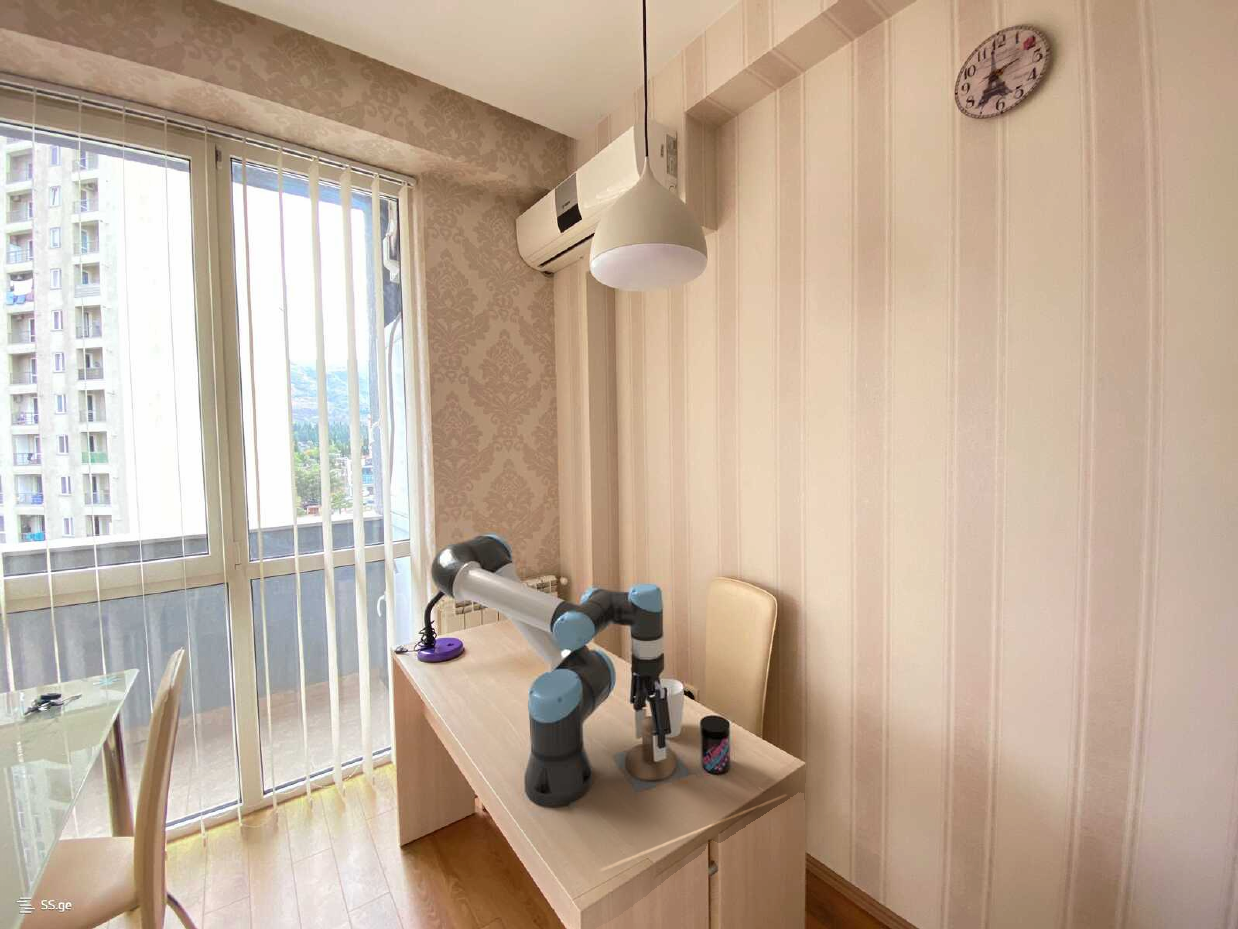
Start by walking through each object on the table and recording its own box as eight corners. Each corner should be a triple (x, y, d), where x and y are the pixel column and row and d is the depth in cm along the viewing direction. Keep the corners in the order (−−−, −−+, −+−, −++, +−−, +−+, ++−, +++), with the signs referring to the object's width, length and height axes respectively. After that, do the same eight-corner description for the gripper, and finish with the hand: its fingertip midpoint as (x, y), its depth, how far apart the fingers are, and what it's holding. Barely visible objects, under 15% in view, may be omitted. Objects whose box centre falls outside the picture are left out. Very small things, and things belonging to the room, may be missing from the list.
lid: (639, 788, 110) (637, 742, 109) (616, 756, 121) (615, 714, 120) (686, 772, 115) (685, 727, 114) (661, 742, 126) (660, 701, 125)
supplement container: (695, 770, 116) (694, 726, 115) (708, 754, 121) (707, 712, 121) (723, 781, 112) (722, 735, 111) (735, 764, 117) (734, 720, 117)
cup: (683, 743, 126) (682, 697, 125) (647, 740, 127) (646, 694, 127) (686, 723, 134) (685, 679, 134) (652, 720, 136) (651, 677, 135)
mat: (636, 794, 109) (636, 792, 109) (611, 757, 121) (611, 755, 121) (692, 775, 114) (692, 773, 114) (662, 741, 127) (662, 739, 127)
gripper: (686, 668, 108) (688, 770, 109) (641, 633, 127) (644, 720, 129) (655, 676, 105) (657, 781, 106) (614, 639, 124) (617, 727, 126)
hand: (650, 747), depth 118 cm, fingers open, 9 cm apart
